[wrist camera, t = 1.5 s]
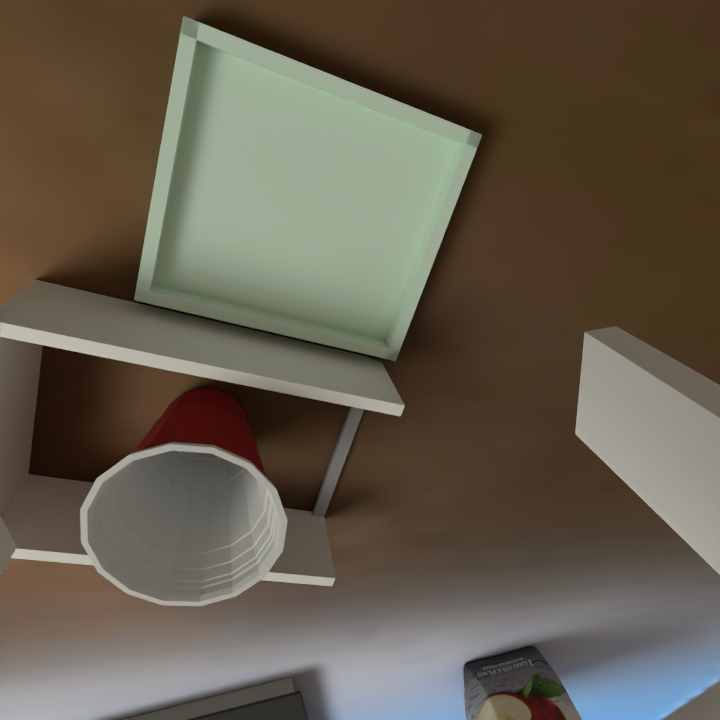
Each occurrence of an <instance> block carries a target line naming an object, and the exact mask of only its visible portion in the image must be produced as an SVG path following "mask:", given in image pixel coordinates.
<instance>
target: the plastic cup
mask: <svg viewBox="0 0 720 720" xmlns="http://www.w3.org/2000/svg"><path fill="white" fill-rule="evenodd" d="M287 521H288V520H287V517H286V514H285V512H284V509H283V506H282V503H281V500H280V497H279V495H278V492H277V489H276V487H275V485H274V484H273V483H272V482H271V481H270V480H269V479H268V478H267V476H266V474H265V471H264V469H263V465H262V462H261V459H260V455H259V452H258V449H257V445H256V442H255V439H254V436H253V434H252V431H251V428H250V426H249V423H248V420H247V417H246V415H245V412H244V409H243V408H242V407H241V405H240V404H239V403H238V402H237V401H236V400H235V399H234V398H233V397H232V396H231V395H229V394H227V393H225V392H222V391H220V390H218V389H209V388H199V389H195V390H192V391H188V392H185V393H184V394H182V395H181V396H180V397H178V398H177V399H176V400H174V401H173V402H172V403H171V404H170V405H169V406H168V408H167V409H166V411H165V412H164V414H163V415H162V417H161V418H160V419H158V420H157V421H156V423H155V424H154V426H153V427H152V428H151V430H150V431H149V432H148V434H147V435H146V437H145V438H144V439H143V441H142V442H141V443H140V445H139V446H138V448H137V449H136V450H135V452H132V453H131V454H129V455H128V456H127V457H125V458H124V459H123V460H121V461H120V462H118V463H117V464H116V465H114V466H113V467H112V468H110V469H109V470H107V471H106V472H105V473H103V474H102V475H101V476H99V477H98V478H97V479H96V480H95V482H94V484H93V486H92V488H91V490H90V492H89V494H88V495H87V497H86V499H85V501H84V503H83V505H82V507H81V509H80V527H81V543H82V545H83V547H84V549H85V550H86V552H87V554H88V556H89V557H90V559H91V561H92V563H93V565H94V566H95V568H96V570H97V572H99V573H100V574H101V575H103V576H104V577H105V578H107V579H108V580H109V581H111V582H112V583H113V584H115V585H116V586H117V587H119V588H120V589H121V590H122V591H124V592H125V593H127V594H130V595H133V596H136V597H139V598H142V599H145V600H148V601H151V602H154V603H157V604H160V605H177V606H202V605H206V604H210V603H213V602H217V601H221V600H224V599H228V598H232V597H235V596H237V595H239V594H240V593H242V592H243V591H245V590H246V589H248V588H249V587H251V586H252V585H254V584H255V583H257V582H258V581H260V580H261V579H263V578H264V577H265V576H266V575H267V573H268V572H269V571H270V569H271V568H272V566H273V565H274V563H275V562H276V560H277V559H278V557H279V556H280V555H281V553H282V552H283V548H284V541H285V534H286V528H287Z"/></svg>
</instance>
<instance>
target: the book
mask: <svg viewBox="0 0 720 720" xmlns="http://www.w3.org/2000/svg"><path fill="white" fill-rule="evenodd" d="M123 720H308V719H307V715H306V711H305V707H304V704H303V700H302V696H301V692H300V691H297V692H295V690H294V686H293V683H292V679H291V678H286V679H282V680H278V681H274V682H270V683H266V684H262V685H258V686H254V687H250V688H246V689H242V690H238V691H234V692H231V693H227V694H223V695H219V696H215V697H211V698H207V699H203V700H199V701H195V702H191V703H187V704H183V705H179V706H175V707H171V708H167V709H163V710H159V711H155V712H151V713H147V714H143V715H139V716H135V717H131V718H127V719H123Z"/></svg>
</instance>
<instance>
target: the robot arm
mask: <svg viewBox="0 0 720 720" xmlns="http://www.w3.org/2000/svg"><path fill="white" fill-rule="evenodd" d="M575 434H576V435H577V436H578V437H579V438H580V439H581V440H582V441H583V442H584V443H585V444H586V445H587V446H588V447H589V448H590V449H591V450H592V451H593V452H594V453H595V454H597V455H598V456H599V457H600V458H601V459H602V460H603V461H604V462H605V463H606V464H607V465H608V466H609V467H610V468H611V469H612V470H613V471H614V472H615V473H616V474H617V475H618V476H619V477H620V478H621V479H622V480H623V481H624V482H625V483H626V484H627V485H628V486H629V487H630V488H631V489H632V490H633V491H634V492H635V493H637V494H638V495H639V496H640V497H641V498H642V499H643V500H644V501H645V502H646V503H647V504H648V505H649V506H650V507H651V508H652V509H653V510H654V511H655V512H656V513H657V514H658V515H659V516H660V517H661V518H662V519H663V520H664V521H665V522H666V523H667V524H668V525H669V526H670V527H671V528H672V529H673V530H674V531H675V532H677V533H678V534H679V535H680V536H681V537H682V538H683V539H684V540H685V541H686V542H687V543H688V544H689V545H690V546H691V547H692V548H693V549H694V550H695V551H696V552H697V553H698V554H699V555H700V556H701V557H702V558H703V559H704V560H705V561H706V562H707V563H708V564H709V565H710V566H711V567H712V568H713V569H714V570H715V571H717V572H718V573H719V574H720V385H718V384H717V383H715V382H713V381H711V380H710V379H708V378H706V377H704V376H703V375H701V374H699V373H697V372H695V371H694V370H692V369H690V368H688V367H687V366H685V365H683V364H681V363H680V362H678V361H676V360H674V359H673V358H671V357H669V356H667V355H666V354H664V353H662V352H660V351H658V350H657V349H655V348H653V347H651V346H650V345H648V344H646V343H644V342H643V341H641V340H639V339H637V338H636V337H634V336H632V335H630V334H629V333H627V332H625V331H623V330H621V329H620V328H618V327H616V326H615V327H609V328H604V329H598V330H593V331H587V332H585V334H584V345H583V356H582V367H581V377H580V388H579V399H578V410H577V420H576V431H575ZM16 548H17V546H16V544H15V543H14V541H13V539H12V537H11V535H10V533H9V531H8V529H7V527H6V526H5V524H4V522H3V520H2V518H1V516H0V576H1V574H2V573H3V571H4V569H5V567H6V565H7V564H8V562H9V560H10V558H11V556H12V555H13V553H14V551H15V549H16Z"/></svg>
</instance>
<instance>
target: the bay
mask: <svg viewBox="0 0 720 720" xmlns="http://www.w3.org/2000/svg"><path fill="white" fill-rule="evenodd" d="M43 345H44V346H49V347H54V348H59V349H64V350H69V351H74V352H79V353H84V354H89V355H94V356H99V357H104V358H109V359H114V360H120V361H125V362H130V363H135V364H140V365H145V366H150V367H155V368H160V369H165V370H170V371H175V372H180V373H185V374H190V375H195V376H200V377H205V378H210V379H215V380H220V381H225V382H230V383H235V384H240V385H245V386H250V387H255V388H260V389H265V390H270V391H275V392H280V393H285V394H290V395H295V396H300V397H305V398H310V399H315V400H320V401H325V402H330V403H335V404H340V405H346V406H350V408H349V411H348V413H347V416H346V419H345V422H344V424H343V427H342V430H341V433H340V436H339V438H338V441H337V444H336V447H335V449H334V452H333V455H332V458H331V461H330V463H329V466H328V469H327V472H326V474H325V477H324V480H323V483H322V486H321V488H320V491H319V494H318V497H317V499H316V502H315V505H314V508H313V511H304V510H297V509H289V508H283V509H284V512H285V514H286V517H287V520H288V521H287V528H286V534H285V541H284V548H283V552H282V553H281V555H280V556H279V557H278V559H277V560H276V562H275V563H274V565H273V566H272V568H271V569H270V571H269V572H268V573H267V575H266V576H265V577H264V578H263V579H261V580H267V581H278V582H290V583H301V584H312V585H324V586H332V585H333V583H334V580H335V574H334V568H333V563H332V558H331V552H330V547H329V541H328V536H327V530H326V525H325V519H324V516H325V513H326V511H327V508H328V505H329V503H330V500H331V497H332V495H333V492H334V489H335V487H336V484H337V481H338V478H339V476H340V473H341V470H342V468H343V465H344V462H345V460H346V457H347V454H348V452H349V449H350V446H351V444H352V441H353V438H354V435H355V433H356V430H357V427H358V425H359V422H360V419H361V417H362V414H363V411H364V409H366V410H371V411H376V412H381V413H386V414H391V415H396V416H401V414H402V412H403V409H404V407H405V405H404V403H403V401H402V399H401V398H400V396H399V394H398V392H397V390H396V388H395V386H394V384H393V383H392V381H391V379H390V377H389V375H388V373H387V371H386V369H385V367H384V366H383V364H382V362H381V360H380V359H376V358H372V357H368V356H363V355H359V354H355V353H350V352H346V351H342V350H337V349H333V348H329V347H324V346H320V345H316V344H312V343H307V342H303V341H299V340H294V339H290V338H286V337H281V336H277V335H273V334H268V333H264V332H260V331H256V330H251V329H247V328H243V327H238V326H234V325H230V324H225V323H221V322H217V321H212V320H208V319H204V318H199V317H195V316H191V315H187V314H182V313H178V312H174V311H169V310H165V309H161V308H156V307H152V306H148V305H143V304H139V303H135V302H131V301H126V300H122V299H118V298H113V297H109V296H105V295H100V294H96V293H92V292H87V291H83V290H79V289H75V288H70V287H66V286H62V285H57V284H53V283H49V282H44V281H40V280H36V279H35V280H34V281H33V282H31V283H30V284H29V285H27V286H26V287H25V288H23V289H22V290H21V291H19V292H18V293H17V294H15V295H14V296H13V297H11V298H10V299H9V300H7V301H6V302H5V303H3V304H2V305H1V306H0V516H1V518H2V520H3V522H4V524H5V526H6V527H7V529H8V531H9V533H10V535H11V537H12V539H13V541H14V543H15V544H16V546H17V548H16V549H15V551H14V553H13V555H12V556H11V558H18V559H29V560H40V561H52V562H63V563H74V564H86V565H93V563H92V561H91V559H90V557H89V556H88V554H87V552H86V550H85V549H84V547H83V545H82V543H81V527H80V509H81V507H82V505H83V503H84V501H85V499H86V497H87V495H88V494H89V492H90V490H91V488H92V486H93V484H94V483H92V482H84V481H77V480H69V479H62V478H54V477H46V476H39V475H31V474H29V465H30V456H31V447H32V438H33V429H34V420H35V411H36V402H37V393H38V384H39V375H40V365H41V356H42V347H43Z"/></svg>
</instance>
